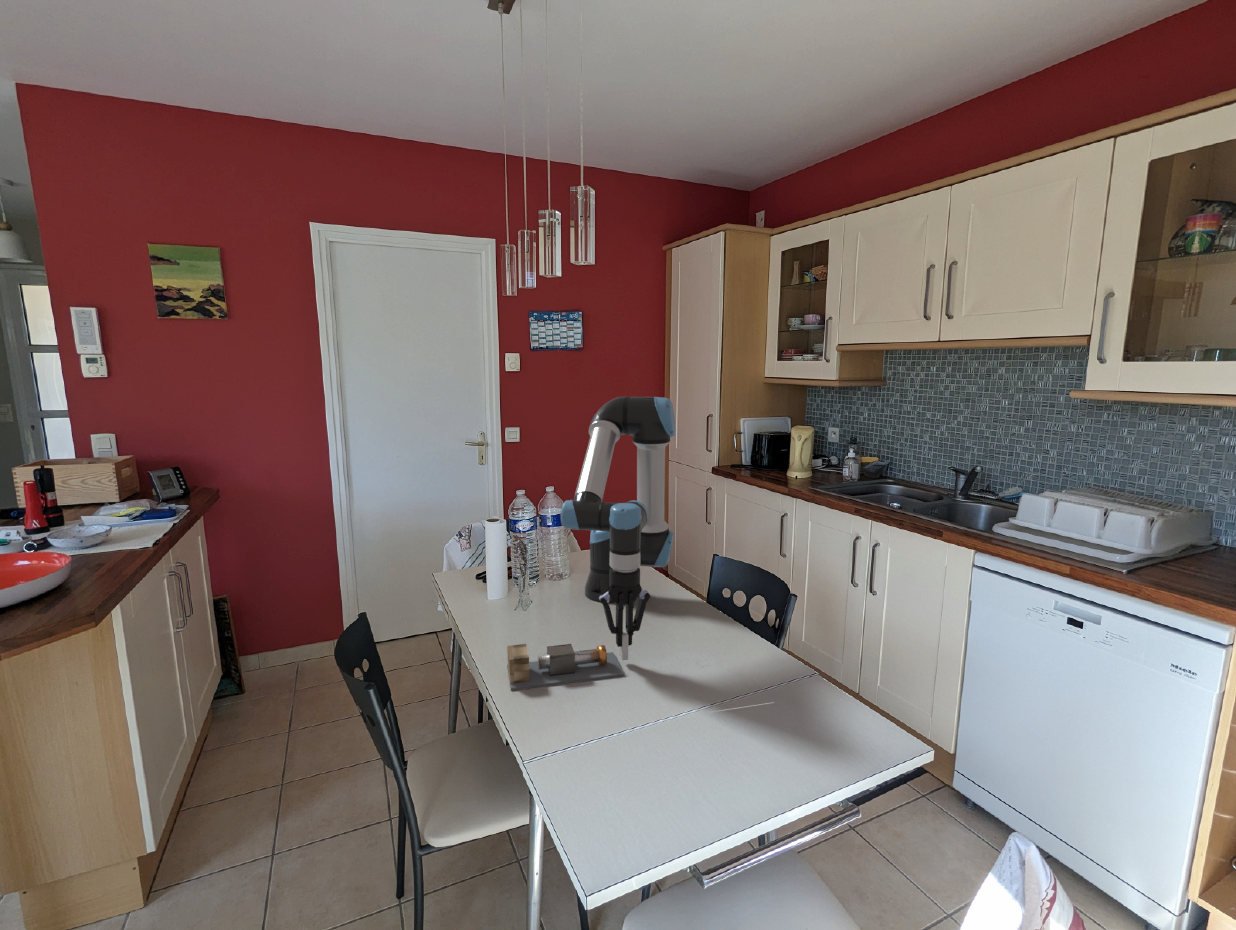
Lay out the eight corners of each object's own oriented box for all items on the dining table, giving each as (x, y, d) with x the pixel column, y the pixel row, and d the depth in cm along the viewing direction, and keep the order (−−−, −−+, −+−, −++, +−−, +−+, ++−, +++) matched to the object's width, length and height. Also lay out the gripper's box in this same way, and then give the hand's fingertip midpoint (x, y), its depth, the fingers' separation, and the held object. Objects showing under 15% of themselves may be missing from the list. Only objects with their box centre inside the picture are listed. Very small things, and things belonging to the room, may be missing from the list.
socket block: (526, 666, 144) (525, 643, 143) (529, 681, 138) (529, 657, 137) (507, 668, 143) (507, 645, 142) (510, 683, 137) (509, 659, 136)
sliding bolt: (602, 658, 148) (602, 641, 147) (607, 667, 144) (607, 650, 143) (537, 666, 144) (537, 649, 143) (539, 676, 140) (539, 658, 139)
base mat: (613, 654, 152) (613, 652, 152) (624, 675, 142) (624, 673, 142) (507, 666, 145) (507, 664, 145) (510, 690, 135) (510, 688, 135)
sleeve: (571, 662, 146) (571, 643, 145) (575, 673, 141) (574, 653, 141) (547, 665, 145) (546, 646, 144) (550, 676, 140) (549, 656, 139)
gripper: (645, 560, 148) (644, 647, 152) (595, 564, 145) (595, 653, 149) (655, 570, 141) (653, 661, 145) (602, 574, 138) (602, 668, 142)
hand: (623, 657), depth 147 cm, fingers closed
